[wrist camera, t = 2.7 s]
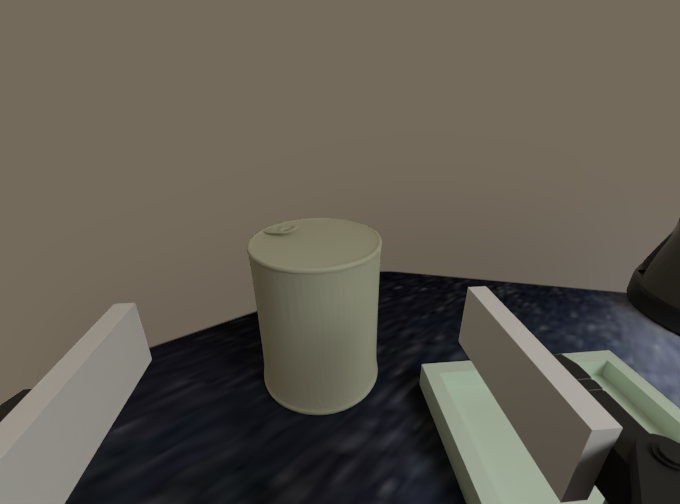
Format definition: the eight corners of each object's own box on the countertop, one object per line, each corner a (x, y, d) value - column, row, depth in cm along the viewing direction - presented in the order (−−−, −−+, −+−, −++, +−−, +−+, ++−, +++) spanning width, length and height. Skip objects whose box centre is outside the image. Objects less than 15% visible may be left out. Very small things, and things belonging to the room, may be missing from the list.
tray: (601, 369, 27) (609, 350, 26) (897, 642, 14) (933, 620, 13) (419, 384, 26) (421, 364, 25) (542, 697, 12) (556, 676, 12)
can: (302, 323, 33) (293, 206, 28) (391, 349, 30) (400, 220, 25) (239, 389, 26) (213, 246, 21) (349, 435, 22) (349, 275, 17)
